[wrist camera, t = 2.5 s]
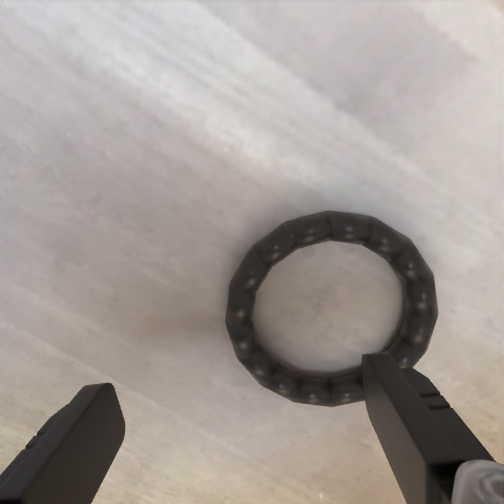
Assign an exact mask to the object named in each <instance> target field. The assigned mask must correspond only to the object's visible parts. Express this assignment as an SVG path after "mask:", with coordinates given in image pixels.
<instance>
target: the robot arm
mask: <svg viewBox="0 0 504 504" xmlns="http://www.w3.org/2000/svg"><path fill="white" fill-rule="evenodd" d="M362 369H363V384H364V397H365V403H366V408H367V412H368V415H369V418H370V420H371V423H372V425H373V427H374V430H375V432H376V434H377V436H378V439H379V441H380V443H381V446H382V448H383V450H384V452H385V455H386V457H387V459H388V462H389V464H390V466H391V468H392V471H393V473H394V475H395V477H396V480H397V482H398V484H399V487H400V489H401V491H402V493H403V496H404V498H405V500H406V503H407V504H504V465H503V464H500V463H497V462H496V461H495V460H494V459H493V458H492V456H491V455H490V454H489V453H488V451H487V450H486V449H485V448H484V447H483V445H482V444H481V443H480V442H479V440H478V439H477V438H476V437H475V435H474V434H473V433H472V432H471V430H470V429H469V428H468V427H467V426H466V424H465V423H464V422H463V421H462V419H461V418H460V417H459V416H458V414H457V413H456V412H455V411H454V409H453V408H451V407H450V405H449V403H448V402H447V401H446V400H445V398H444V397H443V396H442V395H440V392H439V391H438V390H437V388H436V387H435V386H434V385H433V383H432V382H431V381H430V380H429V379H428V378H427V377H426V376H424V375H423V374H421V373H419V372H418V371H416V370H415V369H413V368H412V367H408V368H400V367H399V365H398V364H397V362H396V361H395V359H394V358H393V357H392V355H391V354H390V353H389V352H380V353H371V354H363V355H362ZM124 435H125V420H124V417H123V414H122V411H121V407H120V404H119V401H118V398H117V395H116V392H115V388H114V386H113V385H112V384H111V383H101V384H93V385H86V386H84V387H83V388H82V389H81V390H80V391H79V392H78V393H77V395H76V396H75V397H74V398H73V399H72V400H71V402H70V403H69V404H67V405H66V406H64V407H63V408H62V409H61V410H59V411H58V412H57V413H55V414H54V415H53V416H52V417H50V418H49V420H48V421H47V422H46V423H45V424H44V425H43V427H42V428H41V429H40V430H39V431H38V432H37V436H34V437H33V438H32V439H31V440H30V442H29V443H28V444H27V445H26V448H25V449H24V450H22V451H21V452H20V453H19V454H18V455H17V457H16V458H15V459H14V460H13V461H12V462H11V464H10V465H9V466H8V467H7V468H6V469H5V470H4V472H3V473H2V474H1V475H0V504H91V503H92V501H93V499H94V497H95V495H96V493H97V491H98V489H99V487H100V485H101V483H102V481H103V479H104V477H105V475H106V474H107V472H108V470H109V468H110V466H111V464H112V462H113V460H114V458H115V456H116V454H117V452H118V450H119V448H120V446H121V444H122V442H123V439H124Z"/></svg>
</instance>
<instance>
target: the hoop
mask: <svg viewBox="0 0 504 504" xmlns="http://www.w3.org/2000/svg"><path fill="white" fill-rule="evenodd" d="M330 240H331V241H338V242H345V243H353V244H360V245H363V246H365V247H366V248H368V249H370V250H371V251H373V252H375V253H377V254H378V255H380V256H382V257H383V258H385V259H387V260H388V262H389V263H390V265H391V266H392V268H393V269H394V270H395V272H396V273H397V275H398V276H399V278H400V279H401V281H402V282H403V287H404V294H405V300H406V307H407V311H406V314H405V318H404V321H403V324H402V328H401V331H400V335H399V337H398V338H397V339H396V341H395V342H394V343H393V344H392V346H391V347H390V348H389V349H388V351H387V352H389V353H390V354H391V355H392V357H393V358H394V359H395V361H396V362H397V364H398V365H399V367H400V368H408V367H412V368H413V367H414V365H415V364H416V363H417V362H418V361H419V359H420V358H421V357H422V356H423V355H424V354H425V352H426V351H427V349H428V345H429V342H430V339H431V336H432V333H433V330H434V327H435V324H436V320H437V317H438V306H437V298H436V289H435V281H434V275H433V273H432V271H431V270H430V268H429V267H428V265H427V263H426V262H425V260H424V259H423V257H422V256H421V254H420V253H419V251H418V250H417V248H416V247H415V245H414V244H413V242H412V241H411V240H410V239H409V238H407V237H406V236H404V235H402V234H401V233H399V232H398V231H396V230H394V229H393V228H391V227H389V226H388V225H386V224H384V223H383V222H381V221H380V220H378V219H376V218H374V217H371V216H364V215H356V214H349V213H342V212H334V211H326V212H322V213H319V214H315V215H311V216H307V217H303V218H299V219H295V220H291V221H288V222H285V223H284V224H282V225H281V226H279V227H278V228H277V229H275V230H274V231H273V232H271V233H270V234H269V235H267V236H266V237H265V238H263V239H262V240H260V241H259V242H258V243H256V244H255V245H254V246H252V247H251V249H250V250H249V252H248V253H247V255H246V257H245V258H244V260H243V262H242V263H241V265H240V267H239V268H238V270H237V272H236V273H235V275H234V277H233V278H232V280H231V282H230V285H229V294H228V302H227V310H226V318H225V322H226V326H227V329H228V332H229V335H230V339H231V342H232V345H233V348H234V351H235V354H236V357H237V358H238V360H239V361H240V362H241V363H242V364H243V365H244V367H245V368H246V369H247V370H248V371H249V372H250V373H251V375H252V376H253V377H254V378H255V379H256V380H257V381H258V383H259V384H260V385H262V386H263V387H265V388H267V389H269V390H271V391H273V392H275V393H277V394H279V395H281V396H283V397H285V398H287V399H289V400H291V401H293V402H296V403H304V404H311V405H319V406H326V407H334V406H339V405H344V404H349V403H354V402H359V401H364V400H365V397H364V384H363V370H361V371H359V372H358V373H355V374H351V375H346V376H341V377H336V378H331V379H322V378H314V377H307V376H299V375H298V374H296V373H294V372H292V371H290V370H288V369H286V368H284V367H282V366H281V365H279V364H277V363H275V361H274V360H273V359H272V358H271V357H270V356H269V354H268V353H267V352H266V351H265V350H264V348H263V347H262V346H261V345H260V344H259V341H258V337H257V334H256V330H255V327H254V323H253V320H252V317H253V310H254V303H255V296H256V292H257V290H258V288H259V287H260V285H261V284H262V282H263V280H264V279H265V277H266V276H267V274H268V272H269V271H270V269H271V268H272V267H273V266H274V265H276V264H277V263H278V262H280V261H281V260H283V259H284V258H285V257H287V256H288V255H290V254H291V253H292V252H294V251H295V250H297V249H298V248H302V247H306V246H310V245H314V244H318V243H322V242H326V241H330Z"/></svg>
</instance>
